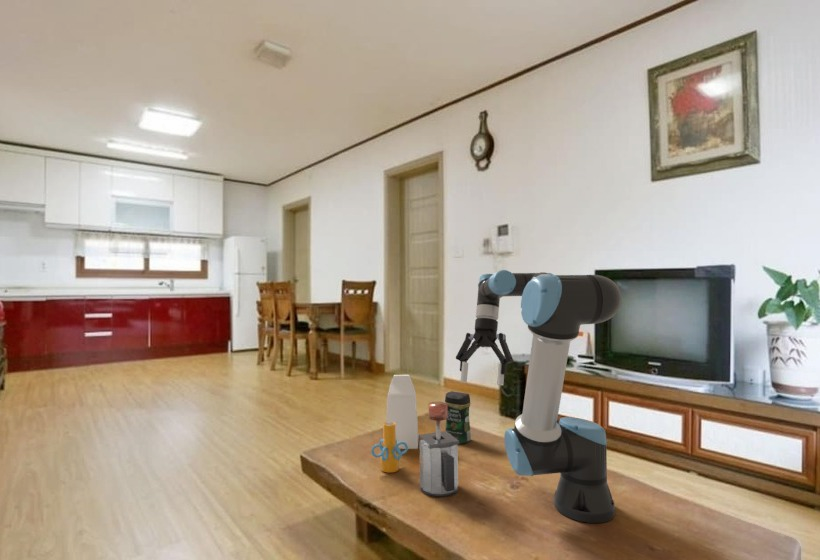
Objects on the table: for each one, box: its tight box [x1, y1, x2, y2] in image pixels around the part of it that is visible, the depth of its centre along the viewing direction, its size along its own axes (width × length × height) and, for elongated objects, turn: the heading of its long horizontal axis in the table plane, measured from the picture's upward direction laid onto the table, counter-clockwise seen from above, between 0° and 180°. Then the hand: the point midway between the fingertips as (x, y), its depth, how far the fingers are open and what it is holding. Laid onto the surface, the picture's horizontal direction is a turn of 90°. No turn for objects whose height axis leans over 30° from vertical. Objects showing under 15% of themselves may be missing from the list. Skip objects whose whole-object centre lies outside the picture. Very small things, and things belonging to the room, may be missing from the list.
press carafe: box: [418, 430, 460, 499], centre depth 127 cm, size 14×11×15 cm
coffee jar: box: [444, 390, 472, 445], centre depth 168 cm, size 10×8×19 cm
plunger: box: [428, 401, 448, 440], centre depth 129 cm, size 6×6×22 cm
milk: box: [385, 374, 419, 450], centre depth 166 cm, size 12×12×26 cm
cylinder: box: [370, 421, 409, 474], centre depth 143 cm, size 12×10×15 cm
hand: (481, 383), depth 141 cm, fingers open, 13 cm apart
